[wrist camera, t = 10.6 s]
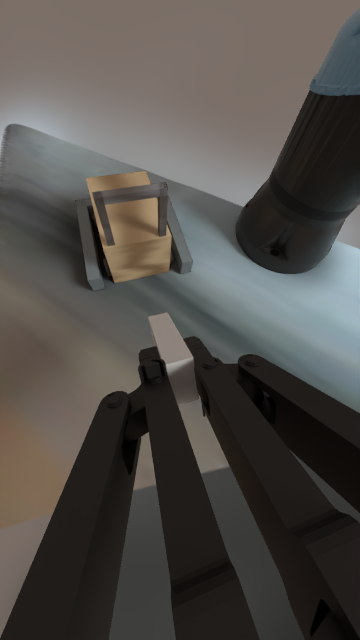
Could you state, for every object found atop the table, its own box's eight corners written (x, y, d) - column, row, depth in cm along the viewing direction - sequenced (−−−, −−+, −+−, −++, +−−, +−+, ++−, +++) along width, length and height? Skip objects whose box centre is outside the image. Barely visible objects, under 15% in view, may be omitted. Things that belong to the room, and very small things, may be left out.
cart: (151, 212, 37) (148, 116, 25) (173, 270, 32) (181, 187, 21) (95, 221, 35) (62, 122, 23) (110, 284, 31) (79, 201, 19)
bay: (165, 203, 38) (165, 189, 35) (190, 271, 32) (192, 261, 30) (80, 214, 35) (75, 200, 33) (93, 290, 30) (87, 280, 28)
